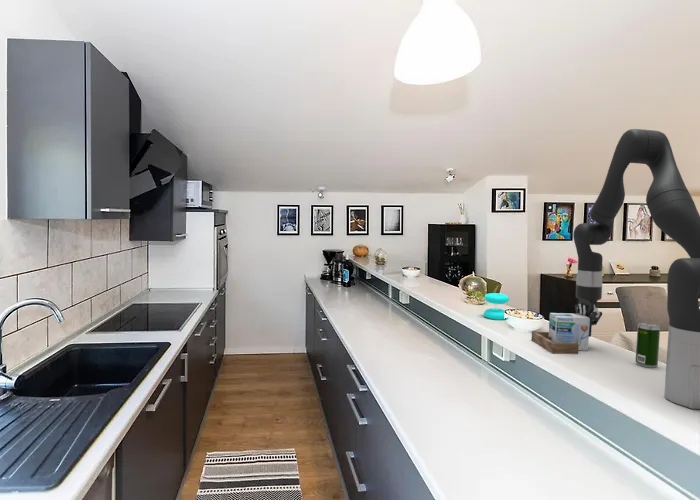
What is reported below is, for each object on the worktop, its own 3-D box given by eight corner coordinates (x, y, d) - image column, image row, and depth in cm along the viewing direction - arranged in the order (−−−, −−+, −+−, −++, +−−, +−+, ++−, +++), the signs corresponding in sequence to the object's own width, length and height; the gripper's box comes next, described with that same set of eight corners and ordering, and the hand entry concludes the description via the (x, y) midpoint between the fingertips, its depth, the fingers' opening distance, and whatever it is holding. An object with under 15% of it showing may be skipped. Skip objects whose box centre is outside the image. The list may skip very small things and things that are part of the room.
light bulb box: (555, 349, 143) (556, 316, 142) (547, 343, 150) (548, 312, 149) (589, 350, 142) (591, 317, 141) (579, 345, 149) (581, 313, 148)
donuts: (486, 296, 184) (482, 292, 194) (485, 319, 185) (482, 314, 195) (511, 297, 183) (506, 293, 193) (510, 321, 184) (505, 315, 194)
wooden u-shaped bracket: (578, 353, 139) (578, 344, 139) (552, 353, 139) (552, 343, 139) (554, 340, 154) (555, 331, 154) (531, 340, 154) (531, 331, 154)
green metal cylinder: (652, 369, 125) (655, 327, 124) (631, 364, 130) (634, 323, 129) (660, 366, 128) (663, 325, 127) (640, 361, 133) (643, 321, 132)
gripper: (612, 287, 139) (609, 341, 140) (589, 281, 152) (586, 331, 153) (588, 287, 139) (586, 341, 140) (567, 281, 152) (565, 331, 153)
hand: (586, 336), depth 147 cm, fingers closed
